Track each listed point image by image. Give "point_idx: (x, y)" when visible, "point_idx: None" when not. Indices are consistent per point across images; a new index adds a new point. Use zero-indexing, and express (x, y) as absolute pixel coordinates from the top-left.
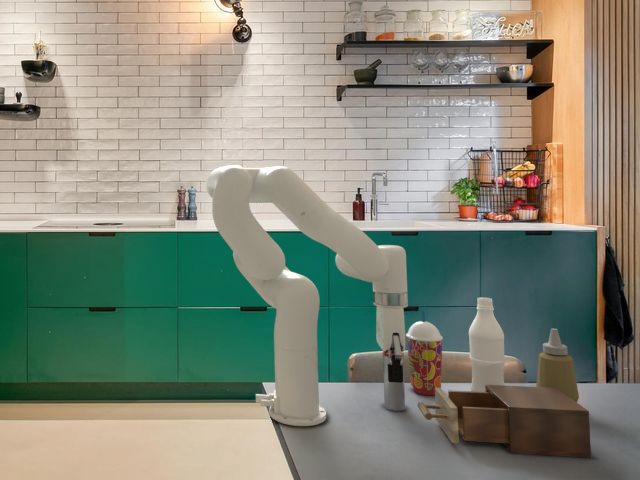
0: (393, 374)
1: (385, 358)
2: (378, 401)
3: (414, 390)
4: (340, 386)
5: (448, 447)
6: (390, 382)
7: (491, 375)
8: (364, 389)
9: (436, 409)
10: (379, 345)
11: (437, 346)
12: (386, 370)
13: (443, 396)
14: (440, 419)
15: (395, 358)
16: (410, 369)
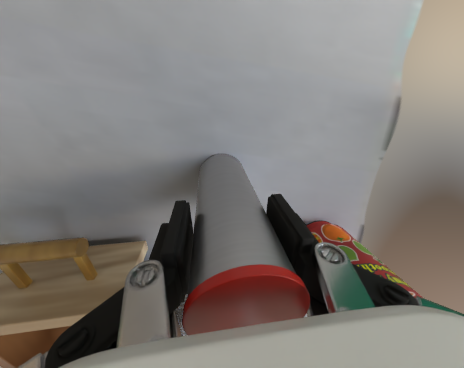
0: (159, 236)
1: (212, 262)
2: (258, 143)
3: (316, 222)
4: (380, 43)
5: (32, 239)
6: (198, 201)
7: None
8: (342, 119)
9: (129, 260)
10: (262, 341)
11: None
12: (207, 217)
13: (36, 323)
14: (100, 255)
15: (28, 362)
16: (348, 250)
